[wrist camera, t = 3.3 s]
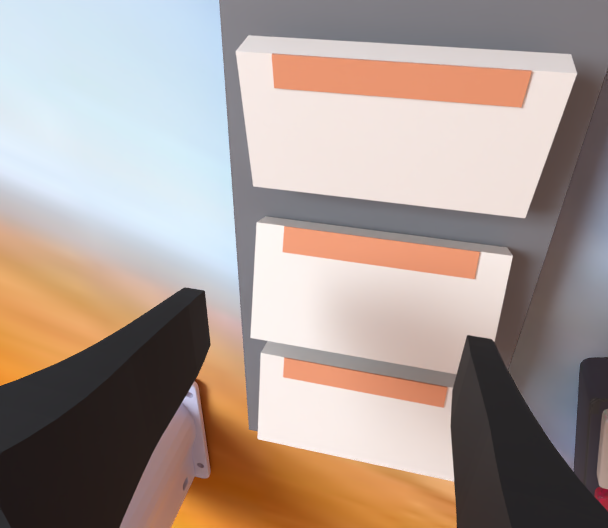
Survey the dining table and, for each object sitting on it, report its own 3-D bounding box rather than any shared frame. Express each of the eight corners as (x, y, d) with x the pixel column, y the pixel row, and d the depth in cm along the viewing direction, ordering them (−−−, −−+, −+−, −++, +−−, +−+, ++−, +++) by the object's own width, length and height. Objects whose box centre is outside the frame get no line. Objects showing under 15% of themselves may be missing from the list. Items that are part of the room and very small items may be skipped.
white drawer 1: (453, 462, 24) (454, 482, 22) (264, 423, 25) (257, 439, 24) (472, 375, 22) (475, 393, 21) (268, 339, 24) (260, 353, 22)
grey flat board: (471, 437, 28) (472, 477, 26) (262, 396, 30) (249, 429, 28) (735, -429, 11) (798, -510, 9) (228, -376, 14) (189, -432, 11)
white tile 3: (522, 196, 17) (525, 219, 16) (262, 167, 19) (252, 187, 18) (571, 54, 14) (577, 74, 13) (248, 35, 15) (234, 52, 15)
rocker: (482, 364, 20) (486, 380, 19) (259, 326, 22) (249, 338, 20) (507, 247, 18) (513, 256, 17) (265, 216, 20) (255, 222, 19)
